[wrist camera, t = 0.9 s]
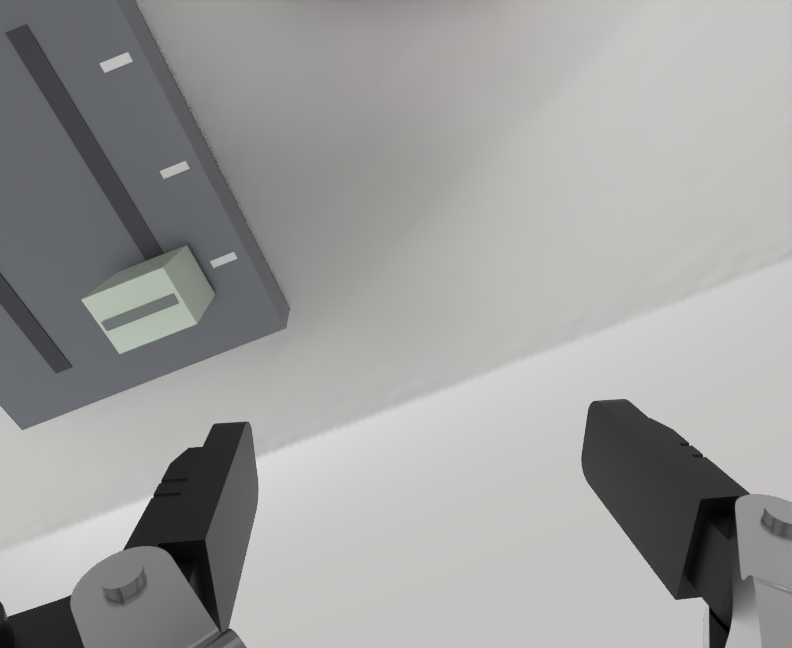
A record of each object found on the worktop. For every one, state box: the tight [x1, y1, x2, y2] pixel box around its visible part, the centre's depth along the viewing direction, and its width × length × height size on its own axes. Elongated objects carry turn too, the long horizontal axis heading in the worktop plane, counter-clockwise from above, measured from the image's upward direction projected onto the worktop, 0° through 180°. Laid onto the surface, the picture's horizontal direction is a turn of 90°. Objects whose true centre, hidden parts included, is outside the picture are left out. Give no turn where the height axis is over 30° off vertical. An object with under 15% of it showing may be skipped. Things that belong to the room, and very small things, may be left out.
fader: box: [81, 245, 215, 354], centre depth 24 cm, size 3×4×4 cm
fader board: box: [0, 0, 290, 430], centre depth 26 cm, size 20×17×3 cm
